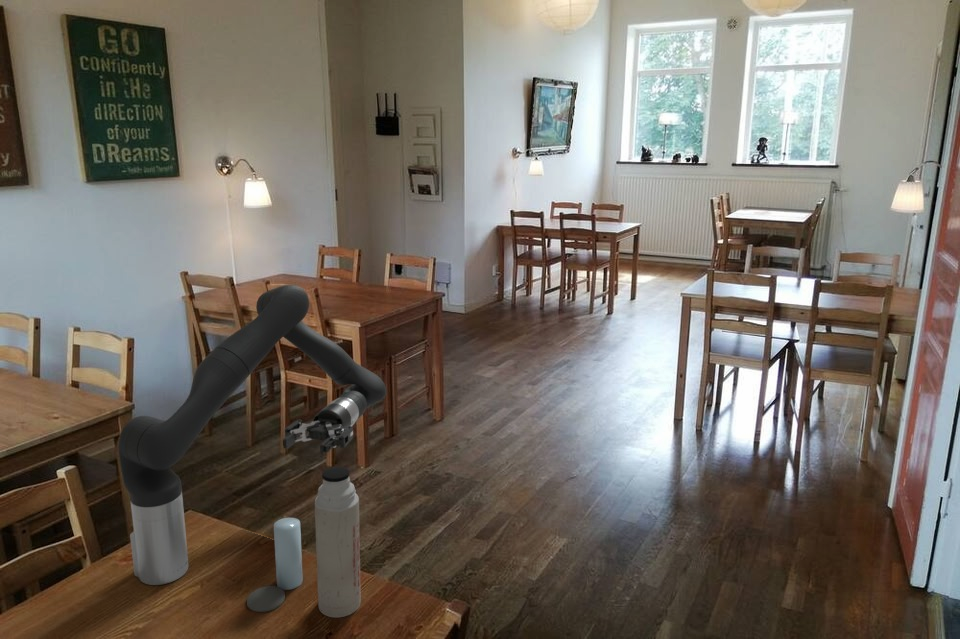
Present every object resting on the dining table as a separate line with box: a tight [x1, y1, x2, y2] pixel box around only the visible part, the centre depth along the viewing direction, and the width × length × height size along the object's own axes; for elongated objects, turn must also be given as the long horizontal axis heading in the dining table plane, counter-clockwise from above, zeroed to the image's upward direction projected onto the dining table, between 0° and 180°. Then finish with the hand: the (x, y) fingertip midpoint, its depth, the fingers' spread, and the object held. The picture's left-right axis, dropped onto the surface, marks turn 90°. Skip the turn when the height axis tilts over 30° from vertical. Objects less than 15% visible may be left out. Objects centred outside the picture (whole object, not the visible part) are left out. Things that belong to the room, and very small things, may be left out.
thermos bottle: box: [314, 465, 362, 619], centre depth 127 cm, size 8×8×28 cm
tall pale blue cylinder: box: [273, 517, 304, 591], centre depth 135 cm, size 5×5×13 cm
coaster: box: [246, 585, 286, 613], centre depth 131 cm, size 7×7×1 cm
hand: (303, 447), depth 143 cm, fingers open, 8 cm apart
